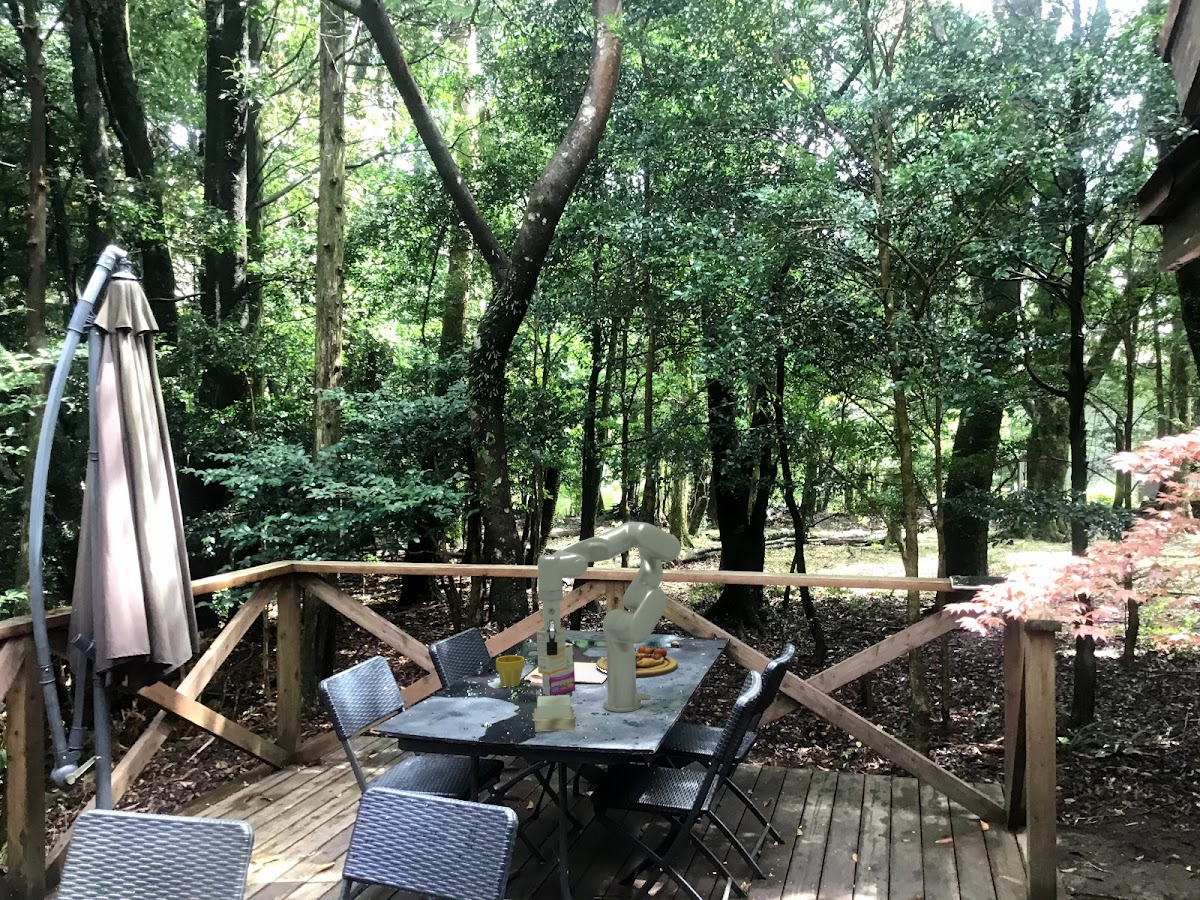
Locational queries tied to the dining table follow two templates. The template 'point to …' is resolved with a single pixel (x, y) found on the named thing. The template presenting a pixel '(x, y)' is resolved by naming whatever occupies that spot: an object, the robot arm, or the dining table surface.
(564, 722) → the tower base block
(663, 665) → the wooden plate with food
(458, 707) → the dining table surface
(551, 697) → the tower top block
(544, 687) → the candy bar box
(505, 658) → the plant pot
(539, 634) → the supplement box
